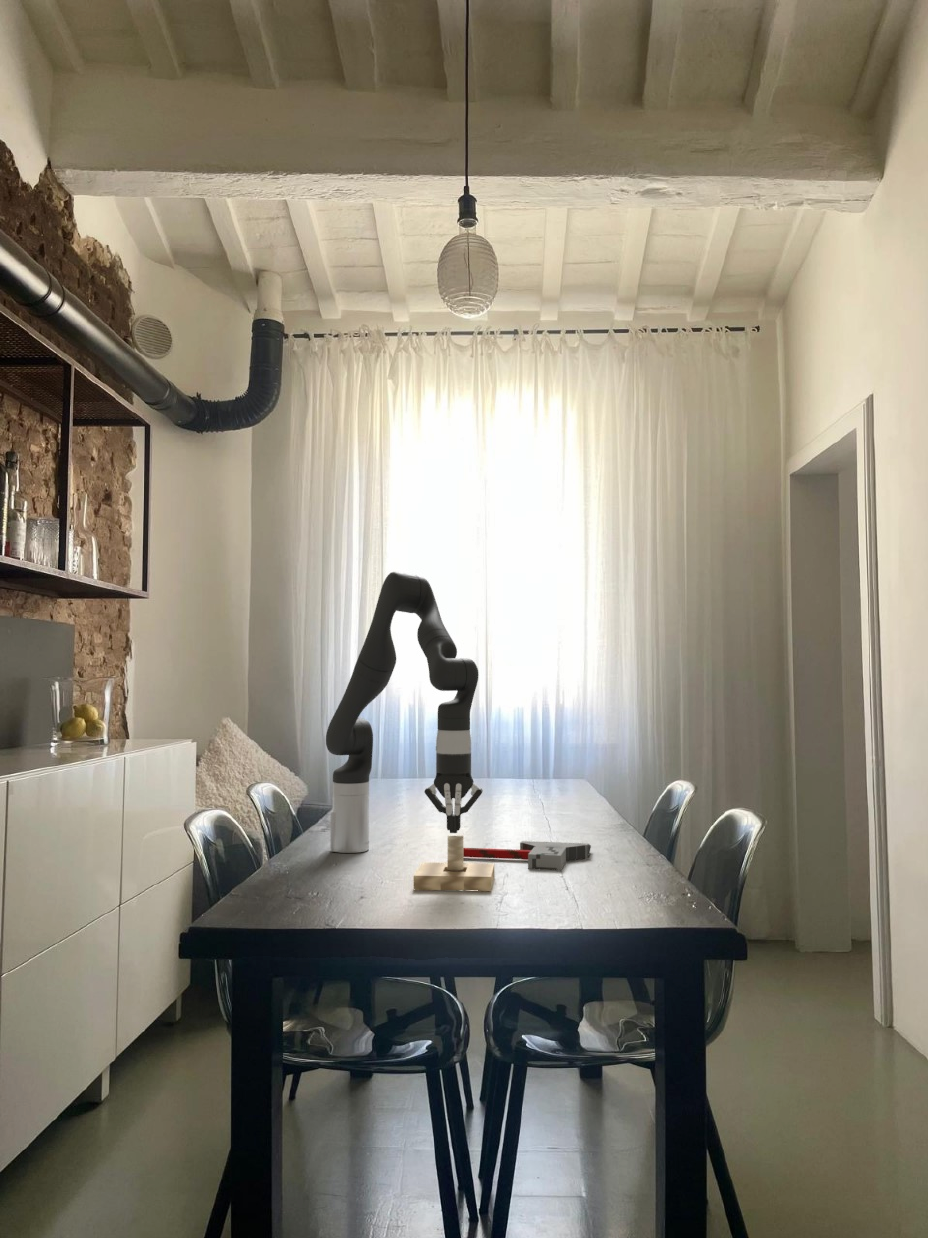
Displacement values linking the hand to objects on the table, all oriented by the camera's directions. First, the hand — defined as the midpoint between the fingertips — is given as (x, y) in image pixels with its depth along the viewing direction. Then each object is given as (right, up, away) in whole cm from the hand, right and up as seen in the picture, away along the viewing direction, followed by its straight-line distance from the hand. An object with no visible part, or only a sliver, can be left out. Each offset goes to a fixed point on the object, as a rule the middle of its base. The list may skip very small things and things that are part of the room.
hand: (453, 832), depth 205 cm
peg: (+1, -11, -1) cm, 11 cm away
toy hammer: (+17, -13, +27) cm, 34 cm away
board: (0, -11, -1) cm, 11 cm away
